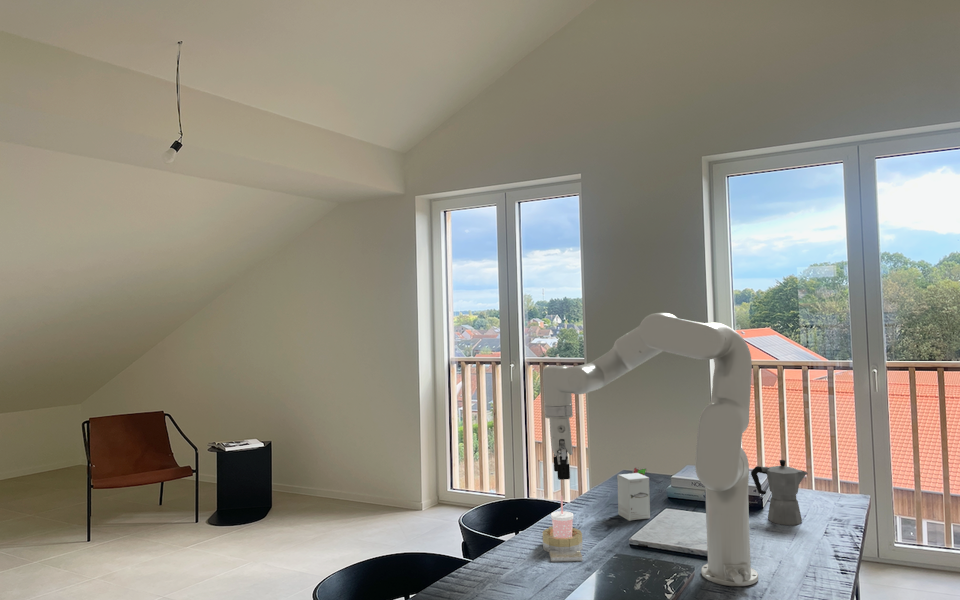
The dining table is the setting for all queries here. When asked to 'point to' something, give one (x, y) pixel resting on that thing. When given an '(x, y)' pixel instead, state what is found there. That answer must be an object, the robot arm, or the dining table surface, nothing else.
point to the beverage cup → (562, 523)
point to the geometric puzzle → (640, 471)
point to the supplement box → (633, 496)
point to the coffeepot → (781, 492)
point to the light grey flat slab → (564, 552)
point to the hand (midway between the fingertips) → (561, 475)
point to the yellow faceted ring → (562, 542)
